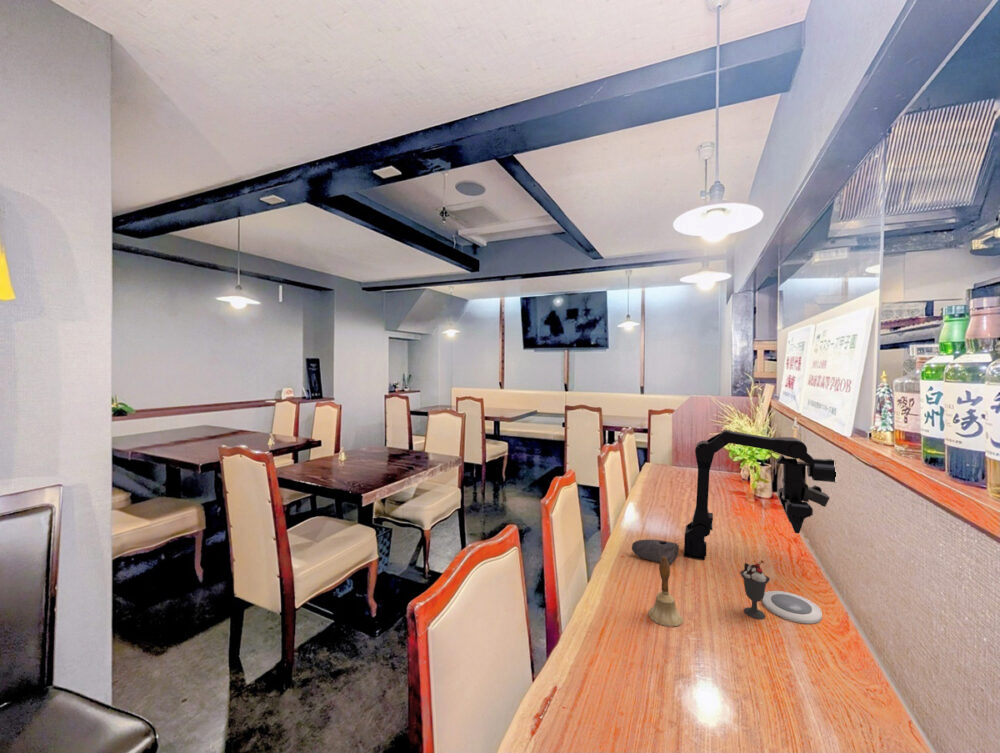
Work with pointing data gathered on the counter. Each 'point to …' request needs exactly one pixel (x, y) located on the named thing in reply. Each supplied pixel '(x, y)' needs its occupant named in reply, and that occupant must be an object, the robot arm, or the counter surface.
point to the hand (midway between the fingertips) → (794, 527)
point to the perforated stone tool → (656, 550)
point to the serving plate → (792, 607)
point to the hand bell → (665, 601)
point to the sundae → (754, 588)
